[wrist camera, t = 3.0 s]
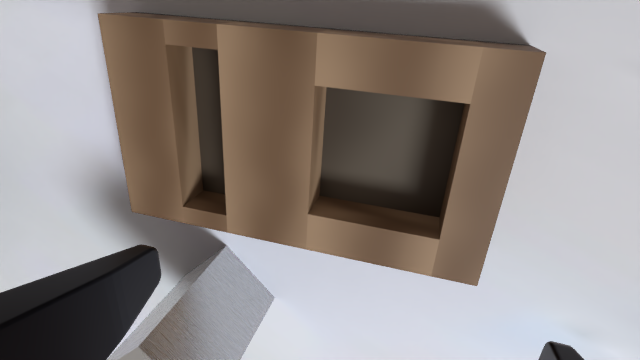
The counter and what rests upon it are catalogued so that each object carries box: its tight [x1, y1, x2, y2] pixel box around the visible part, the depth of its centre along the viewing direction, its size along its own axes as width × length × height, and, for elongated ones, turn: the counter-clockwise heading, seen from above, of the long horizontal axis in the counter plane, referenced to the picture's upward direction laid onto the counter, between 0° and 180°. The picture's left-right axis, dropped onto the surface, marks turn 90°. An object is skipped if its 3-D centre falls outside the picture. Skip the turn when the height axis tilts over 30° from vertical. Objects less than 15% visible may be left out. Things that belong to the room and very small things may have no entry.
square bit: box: [107, 246, 275, 360], centre depth 22 cm, size 4×4×8 cm
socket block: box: [98, 12, 546, 286], centre depth 18 cm, size 18×10×2 cm, turn 87°
